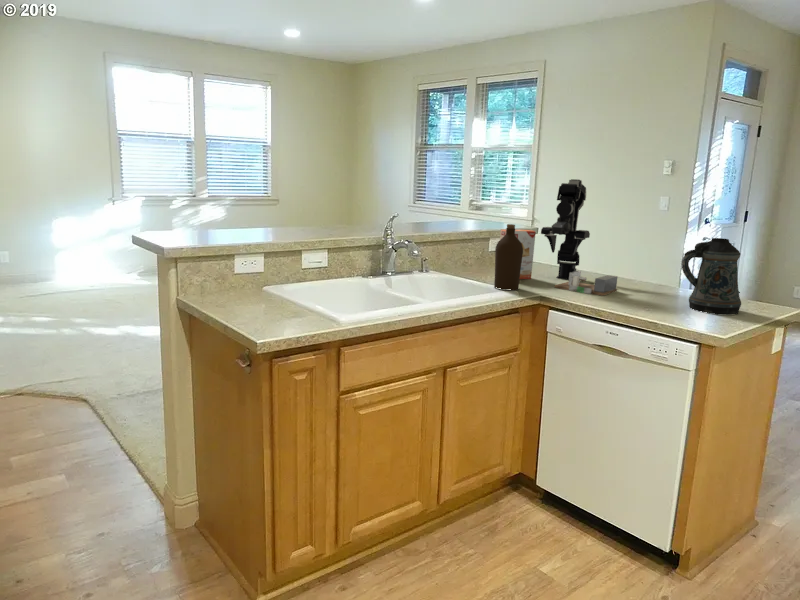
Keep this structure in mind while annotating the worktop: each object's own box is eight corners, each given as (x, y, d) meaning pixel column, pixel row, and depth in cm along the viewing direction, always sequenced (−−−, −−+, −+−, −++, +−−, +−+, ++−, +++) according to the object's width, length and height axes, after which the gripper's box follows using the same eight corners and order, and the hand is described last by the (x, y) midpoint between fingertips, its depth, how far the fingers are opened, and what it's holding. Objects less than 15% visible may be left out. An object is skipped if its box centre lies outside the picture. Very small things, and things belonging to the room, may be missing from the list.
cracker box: (502, 279, 257) (506, 230, 253) (496, 277, 263) (499, 229, 258) (532, 279, 261) (536, 230, 257) (525, 276, 267) (529, 229, 262)
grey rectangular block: (593, 291, 234) (595, 278, 233) (606, 287, 243) (607, 275, 242) (603, 292, 231) (605, 279, 230) (616, 288, 240) (617, 276, 239)
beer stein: (750, 315, 207) (763, 242, 202) (701, 315, 203) (712, 241, 198) (717, 304, 223) (727, 236, 218) (670, 304, 219) (679, 235, 214)
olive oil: (507, 292, 231) (512, 226, 226) (487, 287, 239) (491, 223, 234) (525, 289, 238) (530, 225, 233) (504, 284, 246) (509, 223, 241)
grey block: (566, 285, 241) (567, 273, 240) (577, 282, 249) (578, 270, 248) (578, 287, 238) (579, 274, 237) (589, 284, 245) (590, 272, 244)
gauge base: (553, 288, 243) (554, 282, 243) (569, 283, 254) (570, 278, 254) (601, 296, 230) (602, 290, 230) (616, 291, 241) (617, 286, 241)
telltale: (572, 286, 239) (573, 276, 238) (574, 286, 240) (575, 276, 240) (576, 287, 238) (577, 277, 237) (578, 286, 239) (579, 276, 239)
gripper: (536, 214, 243) (532, 252, 247) (580, 217, 232) (576, 258, 235) (548, 213, 252) (545, 250, 255) (592, 216, 240) (588, 255, 243)
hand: (563, 253), depth 247 cm, fingers open, 8 cm apart
